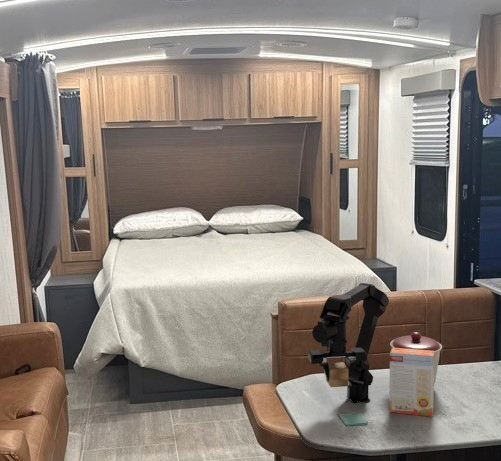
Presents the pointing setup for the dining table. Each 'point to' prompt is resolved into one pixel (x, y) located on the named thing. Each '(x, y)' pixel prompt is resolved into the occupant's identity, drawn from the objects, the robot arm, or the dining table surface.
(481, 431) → the dining table surface
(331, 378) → the walnut cube
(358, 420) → the teal pad
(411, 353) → the cracker box
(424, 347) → the canister
